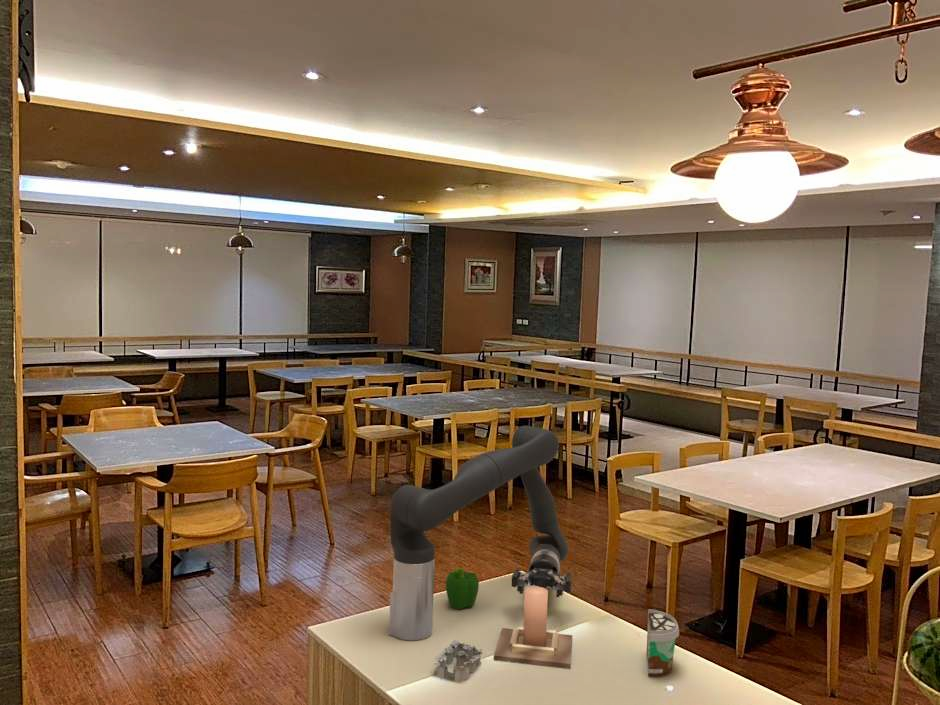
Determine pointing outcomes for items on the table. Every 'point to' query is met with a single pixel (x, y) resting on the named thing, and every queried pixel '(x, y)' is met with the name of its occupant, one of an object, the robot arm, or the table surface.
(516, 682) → the table surface
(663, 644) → the food container
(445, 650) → the egg carton
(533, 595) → the terracotta pin
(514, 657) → the board
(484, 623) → the table surface
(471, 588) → the bell pepper
